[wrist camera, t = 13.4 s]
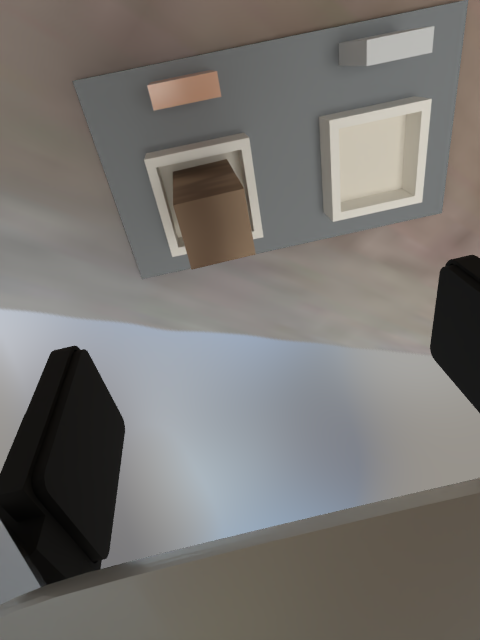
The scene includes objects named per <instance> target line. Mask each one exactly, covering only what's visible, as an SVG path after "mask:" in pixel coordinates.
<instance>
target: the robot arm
mask: <svg viewBox="0 0 480 640" xmlns="http://www.w3.org/2000/svg"><path fill="white" fill-rule="evenodd" d="M430 350H431V354H432V356H433V358H434V360H435V361H436V362H437V363H438V364H439V366H440V367H441V368H442V369H443V370H444V372H445V373H446V374H447V375H448V376H449V377H450V379H451V380H452V381H453V382H454V383H455V385H456V386H457V387H458V388H459V389H460V390H461V392H462V393H463V394H464V395H465V396H466V397H467V399H468V400H469V401H470V402H471V403H472V404H473V406H474V407H475V408H476V409H477V410H478V412H479V413H480V258H478V257H477V256H475V255H469V256H464V257H460V258H456V259H451V260H449V261H448V262H447V263H446V266H445V267H443V268H442V269H441V270H440V275H439V283H438V290H437V298H436V306H435V314H434V321H433V329H432V337H431V344H430ZM124 434H125V425H124V421H123V418H122V416H121V414H120V412H119V410H118V408H117V406H116V404H115V403H114V401H113V399H112V397H111V395H110V393H109V391H108V389H107V387H106V385H105V384H104V382H103V380H102V378H101V376H100V374H99V372H98V370H97V368H96V366H95V365H94V363H93V361H92V359H91V357H90V355H89V353H88V352H87V351H86V350H84V349H83V350H80V349H79V348H78V347H77V346H71V347H67V348H63V349H58V350H54V351H52V352H51V354H50V356H49V359H48V361H47V363H46V366H45V368H44V371H43V373H42V375H41V378H40V380H39V383H38V385H37V387H36V390H35V392H34V395H33V397H32V400H31V402H30V404H29V407H28V409H27V412H26V414H25V415H24V418H23V420H22V422H21V425H20V427H19V430H18V432H17V435H16V437H15V439H14V442H13V445H12V447H11V449H10V451H9V454H8V456H7V459H6V461H5V464H4V466H3V469H2V471H1V473H0V640H480V478H478V479H473V480H469V481H465V482H460V483H456V484H452V485H447V486H443V487H439V488H434V489H430V490H425V491H421V492H417V493H413V494H408V495H404V496H400V497H396V498H391V499H387V500H383V501H379V502H375V503H370V504H366V505H362V506H357V507H353V508H349V509H345V510H340V511H336V512H332V513H328V514H324V515H319V516H315V517H311V518H307V519H302V520H298V521H294V522H290V523H285V524H282V525H277V526H273V527H269V528H265V529H261V530H257V531H253V532H248V533H244V534H240V535H236V536H232V537H228V538H223V539H219V540H215V541H211V542H207V543H203V544H198V545H195V546H190V547H186V548H182V549H178V550H174V551H170V552H165V553H162V554H157V555H154V556H150V557H146V558H142V559H138V560H134V561H130V562H126V563H123V564H119V565H115V566H111V567H107V568H104V569H100V567H101V561H102V560H103V559H106V558H107V556H108V554H109V549H110V541H111V533H112V526H113V518H114V511H115V503H116V495H117V487H118V480H119V472H120V465H121V457H122V449H123V441H124Z"/></svg>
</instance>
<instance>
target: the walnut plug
mask: <svg viewBox="0 0 480 640" xmlns="http://www.w3.org/2000/svg"><path fill="white" fill-rule="evenodd" d="M173 207H174V210H175V214H176V217H177V221H178V224H179V228H180V231H181V235H182V238H183V242H184V245H185V249H186V252H187V255H188V259H189V262H190V266H191V269H196V268H200V267H204V266H208V265H213V264H217V263H221V262H225V261H229V260H234V259H238V258H242V257H246V256H250V255H255V254H256V253H255V247H254V242H253V236H252V230H251V225H250V219H249V214H248V208H247V203H246V197H245V191H244V188H243V186H242V184H241V183H240V181H239V179H238V177H237V176H236V174H235V172H234V170H233V169H232V167H231V165H230V164H229V162H228V160H227V159H225V160H221V161H217V162H212V163H208V164H204V165H199V166H195V167H191V168H186V169H182V170H178V171H174V172H173Z"/></svg>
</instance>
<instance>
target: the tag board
mask: <svg viewBox="0 0 480 640" xmlns="http://www.w3.org/2000/svg"><path fill="white" fill-rule="evenodd" d="M467 6H468V0H464V1H460V2H455V3H450V4H445V5H440V6H435V7H430V8H425V9H421V10H416V11H411V12H406V13H401V14H396V15H391V16H387V17H382V18H377V19H372V20H367V21H362V22H357V23H353V24H348V25H343V26H338V27H333V28H328V29H323V30H319V31H314V32H309V33H304V34H299V35H294V36H289V37H285V38H280V39H275V40H270V41H265V42H260V43H255V44H250V45H246V46H241V47H236V48H231V49H226V50H221V51H216V52H212V53H207V54H202V55H197V56H192V57H187V58H182V59H178V60H173V61H168V62H163V63H158V64H153V65H148V66H144V67H139V68H134V69H129V70H124V71H119V72H114V73H110V74H105V75H100V76H95V77H90V78H85V79H80V80H75V81H73V84H74V87H75V90H76V93H77V95H78V98H79V101H80V104H81V107H82V110H83V112H84V115H85V118H86V121H87V124H88V127H89V130H90V132H91V135H92V138H93V141H94V144H95V147H96V149H97V152H98V155H99V158H100V161H101V164H102V166H103V169H104V172H105V175H106V178H107V181H108V184H109V186H110V189H111V192H112V195H113V198H114V201H115V203H116V206H117V209H118V212H119V215H120V218H121V220H122V223H123V226H124V229H125V232H126V235H127V238H128V240H129V243H130V246H131V249H132V252H133V255H134V257H135V260H136V263H137V266H138V269H139V272H140V274H141V277H142V279H145V278H149V277H154V276H158V275H163V274H167V273H172V272H176V271H181V270H186V269H190V268H191V266H190V262H189V259H188V255H187V252H186V249H185V245H184V242H183V238H182V235H181V231H180V228H179V224H178V221H177V217H176V214H175V210H174V207H173V172H174V171H178V170H182V169H186V168H191V167H195V166H199V165H204V164H208V163H212V162H217V161H221V160H225V159H227V160H228V162H229V164H230V165H231V167H232V169H233V170H234V172H235V174H236V176H237V177H238V179H239V181H240V183H241V184H242V186H243V188H244V191H245V197H246V203H247V208H248V214H249V219H250V225H251V230H252V236H253V242H254V247H255V253H256V254H258V253H263V252H267V251H272V250H276V249H281V248H285V247H290V246H294V245H299V244H303V243H308V242H312V241H317V240H321V239H326V238H331V237H335V236H340V235H344V234H349V233H353V232H358V231H362V230H367V229H371V228H376V227H380V226H385V225H389V224H394V223H398V222H403V221H408V220H412V219H417V218H421V217H426V216H430V215H435V214H439V213H442V207H443V199H444V191H445V183H446V175H447V167H448V159H449V151H450V143H451V135H452V126H453V118H454V110H455V102H456V94H457V86H458V78H459V70H460V62H461V54H462V46H463V38H464V30H465V22H466V14H467ZM431 26H434V38H433V49H432V53H428V54H423V55H418V56H413V57H408V58H404V59H399V60H394V61H389V62H385V63H380V64H375V65H370V66H339V43H342V42H347V41H352V40H357V39H362V38H366V37H371V36H376V35H381V34H386V33H391V32H395V31H402V30H409V29H417V28H424V27H431ZM207 70H214V71H217V74H218V80H219V86H220V92H221V97H217V98H212V99H208V100H203V101H198V102H193V103H188V104H184V105H179V106H174V107H169V108H164V109H160V110H155V111H154V110H153V106H152V102H151V98H150V94H149V91H148V87H147V85H148V84H149V83H150V82H154V81H159V80H164V79H168V78H173V77H178V76H183V75H188V74H193V73H197V72H202V71H207Z"/></svg>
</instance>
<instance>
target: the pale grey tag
mask: <svg viewBox="0 0 480 640" xmlns="http://www.w3.org/2000/svg"><path fill="white" fill-rule="evenodd" d="M433 38H434V26H431V27H424V28H417V29H409V30H402V31H395V32H391V33H386V34H381V35H376V36H371V37H366V38H362V39H357V40H352V41H347V42H342V43H339V66H370V65H375V64H380V63H385V62H389V61H394V60H399V59H404V58H408V57H413V56H418V55H423V54H428V53H432V49H433Z"/></svg>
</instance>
